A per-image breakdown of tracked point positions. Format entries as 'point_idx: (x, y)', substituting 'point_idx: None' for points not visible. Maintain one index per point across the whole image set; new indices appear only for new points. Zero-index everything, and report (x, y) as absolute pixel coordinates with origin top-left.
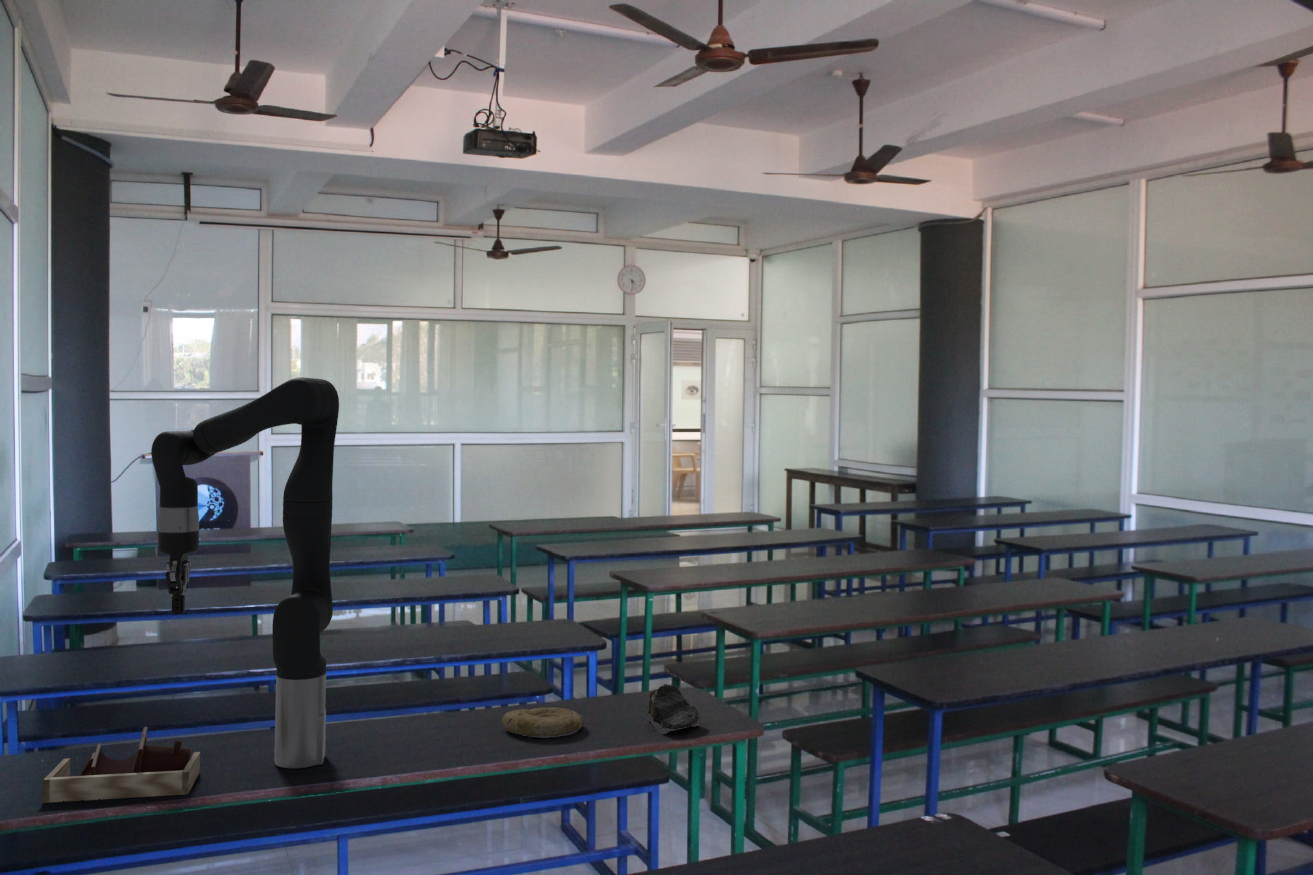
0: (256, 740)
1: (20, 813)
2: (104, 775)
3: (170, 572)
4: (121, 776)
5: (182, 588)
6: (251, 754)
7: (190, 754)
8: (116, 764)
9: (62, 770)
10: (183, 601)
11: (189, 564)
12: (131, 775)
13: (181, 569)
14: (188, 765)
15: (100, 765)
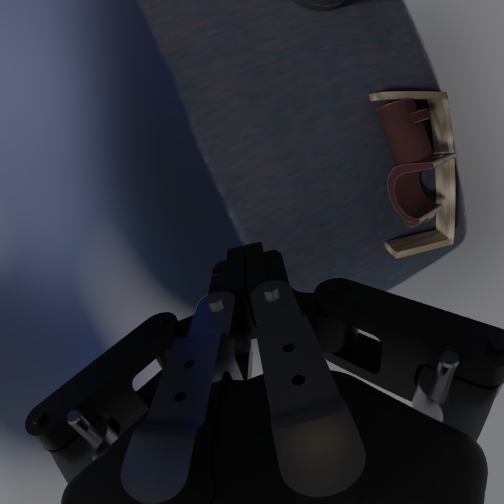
0: (221, 58)
1: (457, 240)
2: (452, 185)
3: (495, 397)
4: (454, 166)
5: (337, 299)
6: (290, 45)
7: (410, 98)
8: (400, 193)
9: (418, 244)
10: (263, 266)
11: (192, 463)
12: None
13: (410, 418)
14: (428, 95)
15: (418, 206)
